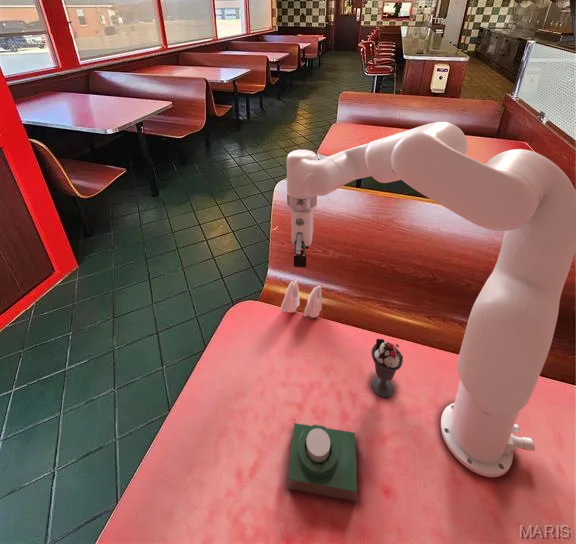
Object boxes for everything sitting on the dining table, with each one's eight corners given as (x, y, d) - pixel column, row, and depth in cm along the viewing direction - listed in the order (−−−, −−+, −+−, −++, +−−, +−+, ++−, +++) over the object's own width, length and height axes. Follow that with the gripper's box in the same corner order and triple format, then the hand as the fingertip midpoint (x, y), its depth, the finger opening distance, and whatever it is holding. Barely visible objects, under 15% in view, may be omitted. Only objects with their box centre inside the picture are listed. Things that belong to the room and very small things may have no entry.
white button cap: (330, 436, 63) (330, 430, 62) (329, 465, 59) (330, 458, 58) (307, 433, 63) (307, 426, 62) (305, 460, 59) (305, 454, 58)
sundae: (399, 404, 72) (407, 356, 67) (368, 398, 73) (373, 350, 68) (396, 375, 78) (404, 329, 73) (367, 370, 79) (372, 324, 74)
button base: (353, 441, 66) (355, 426, 64) (355, 501, 57) (357, 485, 56) (294, 432, 67) (294, 416, 66) (288, 488, 59) (287, 472, 57)
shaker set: (279, 316, 95) (279, 285, 91) (281, 304, 99) (281, 275, 95) (321, 319, 94) (322, 289, 90) (321, 308, 97) (322, 278, 93)
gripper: (314, 218, 74) (313, 280, 80) (319, 184, 90) (317, 239, 96) (281, 215, 75) (282, 277, 81) (291, 183, 91) (292, 237, 98)
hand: (301, 256), depth 89 cm, fingers open, 7 cm apart
